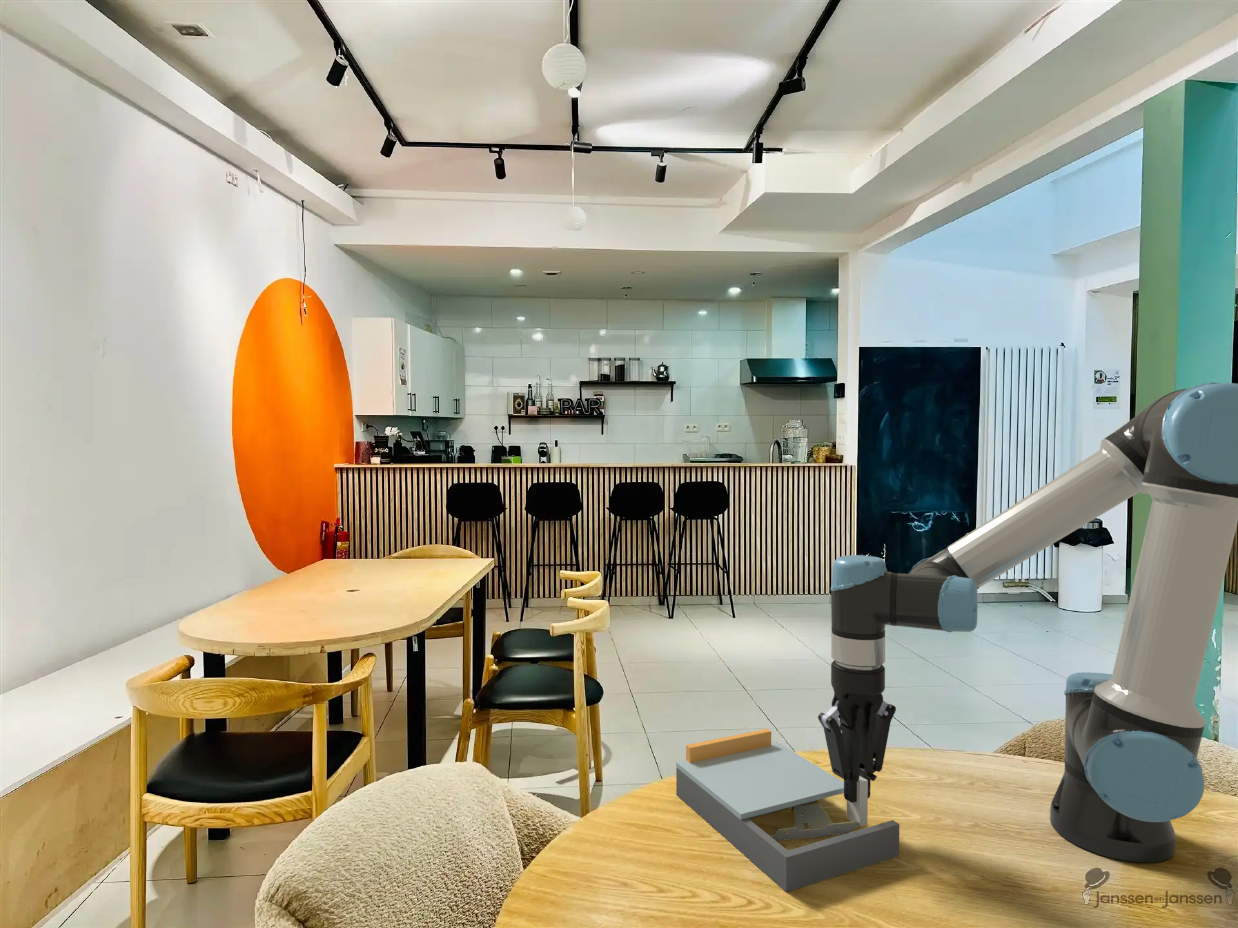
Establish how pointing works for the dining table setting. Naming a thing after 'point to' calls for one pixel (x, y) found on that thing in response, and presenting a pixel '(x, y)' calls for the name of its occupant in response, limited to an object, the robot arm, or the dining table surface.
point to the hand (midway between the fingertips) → (857, 820)
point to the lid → (756, 774)
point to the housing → (800, 862)
